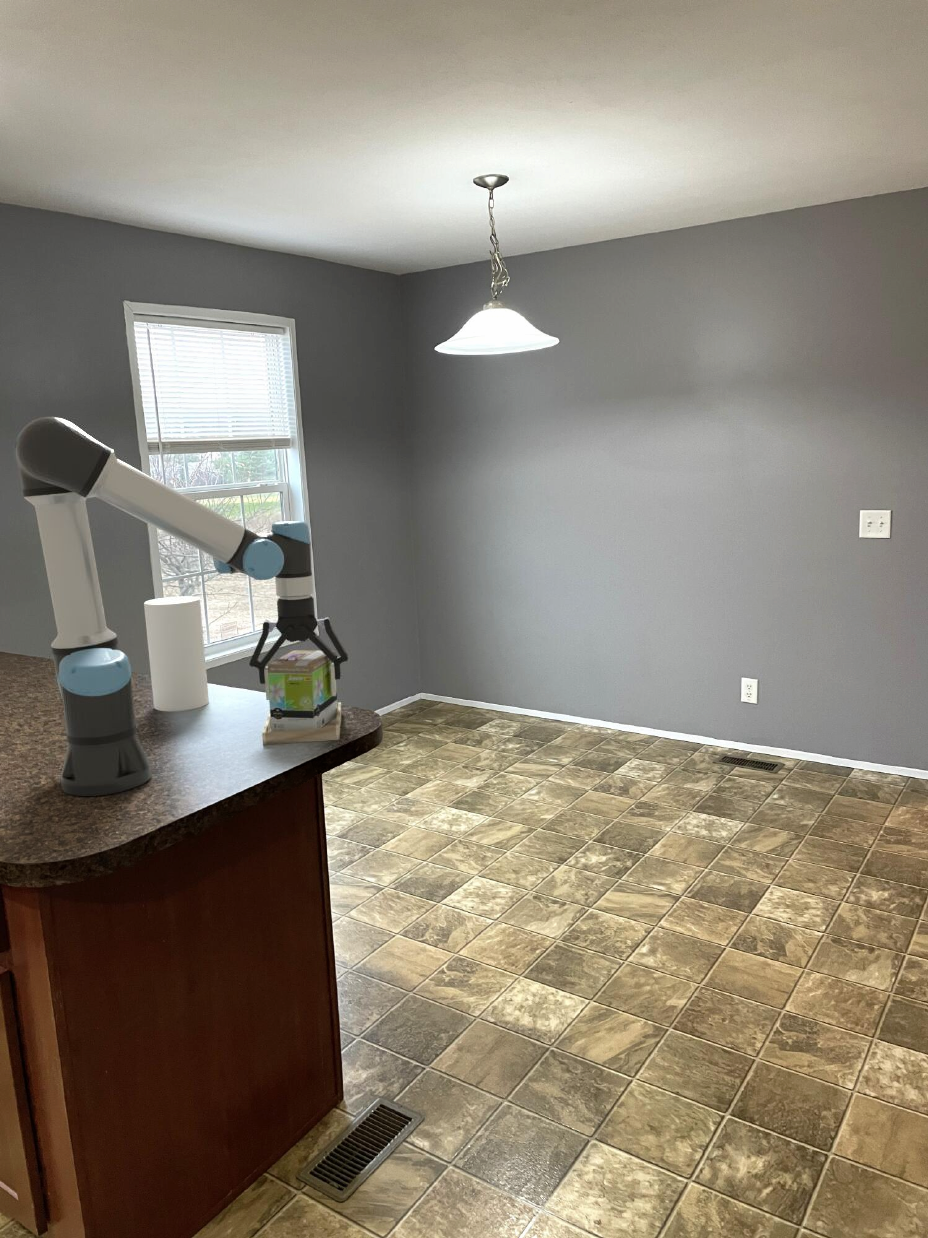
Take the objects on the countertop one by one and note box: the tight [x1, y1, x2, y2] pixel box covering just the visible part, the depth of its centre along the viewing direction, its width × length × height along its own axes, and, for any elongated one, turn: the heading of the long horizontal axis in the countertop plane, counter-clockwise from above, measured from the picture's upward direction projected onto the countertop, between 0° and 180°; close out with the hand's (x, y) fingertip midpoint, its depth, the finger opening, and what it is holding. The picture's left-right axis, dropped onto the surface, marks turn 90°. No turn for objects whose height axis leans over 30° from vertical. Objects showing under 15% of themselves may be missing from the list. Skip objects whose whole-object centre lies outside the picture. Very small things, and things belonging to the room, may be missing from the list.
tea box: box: [267, 649, 338, 731], centre depth 196 cm, size 15×10×15 cm
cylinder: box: [143, 595, 210, 712], centre depth 219 cm, size 12×12×25 cm
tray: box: [261, 701, 343, 746], centre depth 197 cm, size 20×15×2 cm
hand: (301, 696), depth 196 cm, fingers open, 13 cm apart
